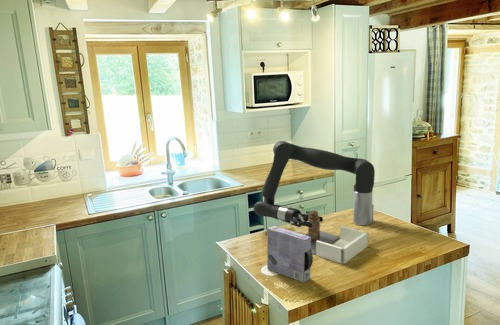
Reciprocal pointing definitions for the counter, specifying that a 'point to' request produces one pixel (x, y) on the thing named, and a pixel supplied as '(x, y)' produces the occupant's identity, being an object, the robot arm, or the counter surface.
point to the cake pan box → (289, 253)
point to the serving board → (324, 240)
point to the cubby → (343, 245)
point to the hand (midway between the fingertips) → (317, 222)
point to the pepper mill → (314, 227)
